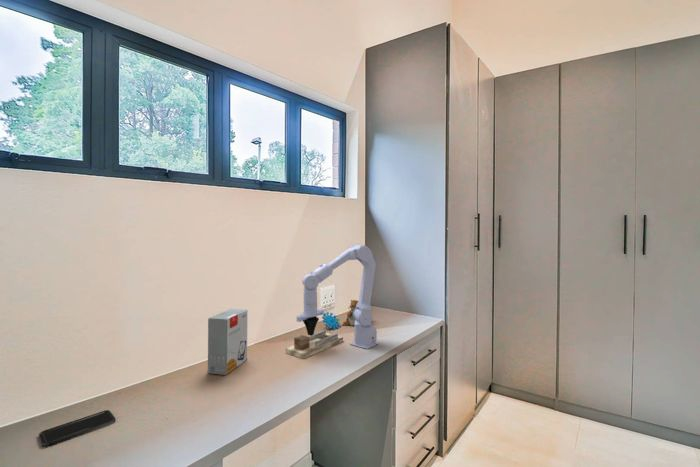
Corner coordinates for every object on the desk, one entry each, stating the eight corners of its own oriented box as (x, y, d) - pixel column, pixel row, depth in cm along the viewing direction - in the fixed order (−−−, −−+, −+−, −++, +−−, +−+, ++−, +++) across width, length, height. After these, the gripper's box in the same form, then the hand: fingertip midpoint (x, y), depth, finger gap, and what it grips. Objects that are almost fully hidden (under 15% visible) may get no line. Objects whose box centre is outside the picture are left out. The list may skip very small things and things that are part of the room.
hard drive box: (226, 376, 123) (226, 319, 122) (207, 374, 124) (206, 318, 124) (248, 359, 138) (247, 308, 137) (230, 357, 140) (230, 307, 139)
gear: (327, 328, 172) (320, 311, 178) (321, 335, 175) (314, 318, 181) (344, 327, 179) (337, 310, 185) (338, 333, 182) (331, 317, 188)
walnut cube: (309, 347, 145) (309, 337, 145) (301, 350, 142) (301, 339, 142) (301, 345, 148) (301, 334, 148) (294, 348, 144) (294, 337, 144)
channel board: (343, 341, 159) (343, 332, 158) (302, 358, 138) (302, 348, 138) (326, 337, 165) (326, 328, 165) (285, 353, 144) (285, 343, 144)
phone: (38, 432, 88) (108, 409, 100) (38, 436, 88) (108, 413, 100) (42, 445, 83) (116, 419, 94) (43, 450, 83) (116, 423, 94)
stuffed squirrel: (341, 326, 182) (341, 300, 182) (354, 319, 195) (354, 296, 194) (358, 328, 178) (358, 303, 177) (370, 322, 190) (370, 297, 189)
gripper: (315, 298, 156) (315, 328, 157) (291, 304, 145) (291, 337, 145) (327, 300, 152) (327, 331, 153) (303, 307, 141) (303, 340, 141)
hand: (310, 334), depth 149 cm, fingers closed
